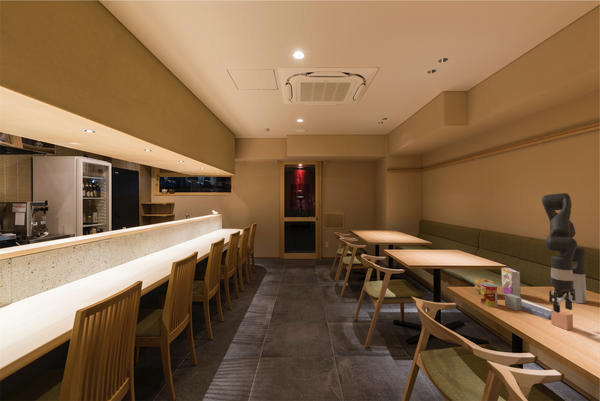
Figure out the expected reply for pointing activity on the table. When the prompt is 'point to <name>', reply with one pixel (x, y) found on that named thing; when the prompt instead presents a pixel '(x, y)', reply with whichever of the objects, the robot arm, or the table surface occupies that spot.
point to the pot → (478, 284)
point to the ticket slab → (536, 309)
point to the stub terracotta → (562, 319)
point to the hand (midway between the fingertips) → (562, 310)
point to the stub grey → (513, 302)
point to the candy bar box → (511, 281)
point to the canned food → (489, 294)
